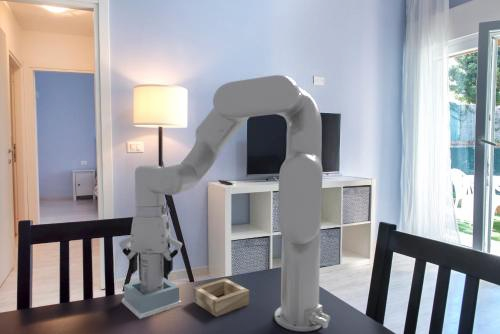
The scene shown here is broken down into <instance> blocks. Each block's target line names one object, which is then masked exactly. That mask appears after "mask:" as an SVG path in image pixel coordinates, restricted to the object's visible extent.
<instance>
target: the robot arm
mask: <svg viewBox="0 0 500 334" xmlns="http://www.w3.org/2000/svg"><path fill="white" fill-rule="evenodd" d="M212 98H213V99H212V105H213V108H212V109H211V110H210V112H209V113H207V115H206V116H205V118H204V119H203V120H202V122H201V123H200V124H199V125H198V126H197V128H196V129H195V142H194V144H193V146H192V148H191V150H190V151H189V152H188V154H187V155H186V157H184V158H183V160H182V161H181V163H179V164H176V165H175V164H174V165H170V166H164V167H162V166H161V165H155V164H154V165H153V164H152V165H150V164H149V165H145V164H144V165H139V166H137V167H136V168H135V169H134V192H135V193H134V196H135V215H134V216H133V218H132V223H131V231H130V236H129V237H127V238H125V239H123V240H121V241H120V242H119V243H118V245H119V247H120V249H121V250H122V253H123V254H124V255H125V256H126V258H127V259H128V266H129V267H128V268H129V269H128V270H130V274H131V275H133V274H135V273H136V272H137V271H138V266H139V265H138V256H137V254H141V253H143V252H144V251H145V249H148V250H152V249H153V251H154V252H155V253H158V254H163V257H164V258H165V261H164V266H165V267H164V268H165V269H164V272H165V273H164V275H165V276H169V275H170V273H171V272H172V271H173V269H174V268H173V267H174V262H173V261H174V259H173V258H175V257H176V255H178V254H179V253H180V250H181V249H182V246H183V242H181V241H180V240H177V239H176V238H173V237H172V235H171V227H170V221H169V216H168V214H166V213H169V212H170V207H168V206H166V204H165V195H167V196H176V195H178V194H182V193H183V192H184V193H185V192H187V191H189V190H191V189H193V188H195V187H196V185H197V184H198V183H199V182H200V181H201V180H202V179H203V177H205V175H206V174H207V173H208V172H209V170H210V169H211V167H212V166H213V165H214V164H215V162H216V161H217V160H218V158H219V157H220V155H221V152H222V151H223V150H224V148H225V147H226V146H227V145H228V143H229V142H230V141H231V140H232V139H233V137H234V136H235V135H236V134H237V133H238V132H239V130H240V129H241V128H243V126H244V125H245V123H246V122H247V121H248V120H249V118H252V117H259V116H260V117H261V116H267V115H268V116H270V115H279V116H281V117H284V120H285V121H286V127H287V128H286V150H285V151H286V153H285V160H284V161H283V163H282V164H281V166H280V169H279V174H278V175H279V176H278V194H277V198H278V201H277V228H278V229H279V233H280V234H281V266H280V267H281V268H280V269H281V271H280V272H281V273H280V274H281V275H280V277H281V280H280V282H281V283H280V306H279V307H278V308H277V309H275V311H274V320H275V321H276V323H277V324H278V325H280V326H281V327H283V328H285V329H287V330H290V331H294V332H312V331H313V332H314V331H316V330H318V329H320V328H324V329H327V328H328V326H329V324H330V323H329V322H330V321H331V316H330V315H328V314H326V313H324V312H323V305H322V304H320V276H321V275H320V267H321V265H320V264H321V236H322V235H321V230H322V198H323V197H322V195H323V174H324V173H323V172H324V171H323V165H322V152H323V151H322V149H323V148H322V146H323V144H322V143H323V141H322V138H323V137H322V135H323V133H322V132H323V129H322V128H323V127H322V125H323V124H322V115H321V112H320V109H319V107H318V105H317V103H316V101H315V100H314V98H313V97H312V96H311V95H310V94H309V93H307V92H306V91H305V90H303V89H302V88H301V87H299V86H298V84H297V83H296V82H295V80H293V79H292V78H290V77H288V76H286V75H280V74H275V75H266V76H262V77H255V78H254V77H253V78H248V79H240V80H234V81H230V82H225V83H224V84H221V85H220V86H219V87H218V88H217V89H216V90H215V93H214V94H213V97H212ZM128 244H130V248H129V246H128ZM172 245H173V246H174V250H173V251H172V250H171V247H172Z"/></svg>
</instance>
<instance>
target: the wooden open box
mask: <svg viewBox="0 0 500 334" xmlns="http://www.w3.org/2000/svg"><path fill="white" fill-rule="evenodd" d="M223 294H224V295H223ZM220 295H221V296H220ZM217 296H218V297H217ZM193 303H194V304H196V305H198V306H200V307H201V308H202V309H204V310H206V311H207V312H208V313H209V314H211V315H213V316H215V318H216V317H217V318H218V317H219V316H222V315H224V314H225V315H226V314H227V313H230V312H232V311H235V310H237V309H240V308H242V307H245V306H248V305H250V290H249V289H248V288H245V287H243V286H241V285H240V284H238V283H236V282H233V280H232V281H231V280H230V279H228V278H223V279H218V280H215V281H212V282H209V283H208V282H207V283H205V284H202V285H198V286H196V287H193Z"/></svg>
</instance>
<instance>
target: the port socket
mask: <svg viewBox="0 0 500 334" xmlns="http://www.w3.org/2000/svg"><path fill="white" fill-rule="evenodd" d="M123 296H124V297H123V298H122V299H121V303H122V304H123V305H124V306H125V307H126V308H128V309H129V311H131V312H132V313H133V314H134V315H135V316H136V317H137V318H138V319H140V320H141V319H143V318H147V317H149V316H152V315H156V314H159V313H161V312H166V311H168V310H171V309H174V308H177V307H179V306H180V307H181V306H182V304H183V302H182V300H180V287H179V286H178V285H176V283H173V282H172V281H170V280H168V279H167V278H165V277H164V276H163V289H162V290H159V291H156V292H152V293H149V294H145V295H143V294H142V293H141V280H138V281H134V282H130V283H126V284H124V285H123Z"/></svg>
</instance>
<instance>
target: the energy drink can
mask: <svg viewBox="0 0 500 334" xmlns="http://www.w3.org/2000/svg"><path fill="white" fill-rule="evenodd" d="M139 254H140V261H139V264H140V281H141V293H142V294H143V295H145V294H149V293H152V292H156V291H159V290H162V289H163V277H164V255H163V254H158V253H155V252H154V251H153V249H152V250H148V249H145V251H144V252H143V253H139Z"/></svg>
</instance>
